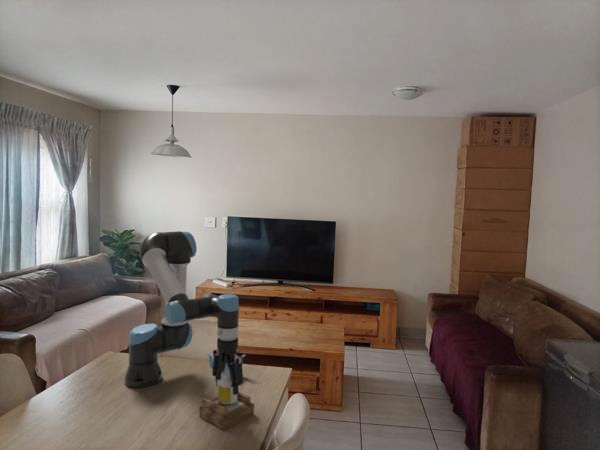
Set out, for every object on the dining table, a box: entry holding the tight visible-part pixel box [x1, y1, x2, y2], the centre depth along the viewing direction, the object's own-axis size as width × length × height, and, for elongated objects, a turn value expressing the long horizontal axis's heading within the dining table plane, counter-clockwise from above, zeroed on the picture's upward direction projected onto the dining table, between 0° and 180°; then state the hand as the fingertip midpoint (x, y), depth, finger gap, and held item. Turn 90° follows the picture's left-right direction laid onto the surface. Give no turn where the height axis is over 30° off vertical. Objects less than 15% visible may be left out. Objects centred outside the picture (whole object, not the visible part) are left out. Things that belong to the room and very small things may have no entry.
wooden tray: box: [198, 391, 255, 431], centre depth 149 cm, size 14×14×6 cm
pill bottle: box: [218, 371, 236, 408], centre depth 148 cm, size 6×6×12 cm
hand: (227, 398), depth 148 cm, fingers closed on pill bottle, 6 cm apart
